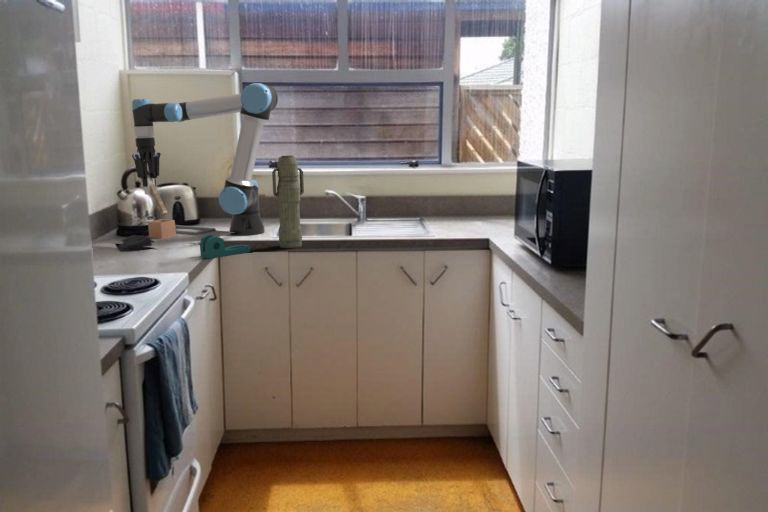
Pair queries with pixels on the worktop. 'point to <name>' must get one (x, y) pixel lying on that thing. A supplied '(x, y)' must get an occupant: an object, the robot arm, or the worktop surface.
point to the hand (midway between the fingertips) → (150, 193)
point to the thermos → (288, 201)
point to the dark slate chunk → (135, 243)
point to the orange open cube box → (161, 228)
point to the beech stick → (157, 197)
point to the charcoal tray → (204, 229)
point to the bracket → (219, 248)
